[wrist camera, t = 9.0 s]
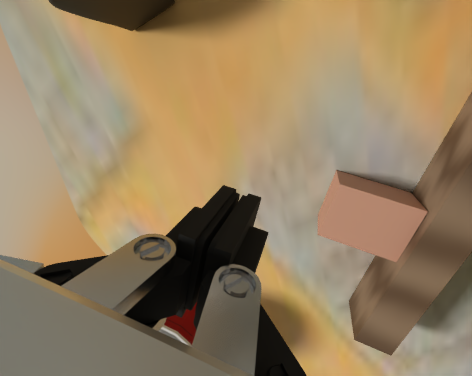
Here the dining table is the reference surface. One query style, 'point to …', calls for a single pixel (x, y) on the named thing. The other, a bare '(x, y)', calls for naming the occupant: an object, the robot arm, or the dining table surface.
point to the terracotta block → (369, 216)
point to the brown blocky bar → (421, 247)
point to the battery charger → (115, 10)
